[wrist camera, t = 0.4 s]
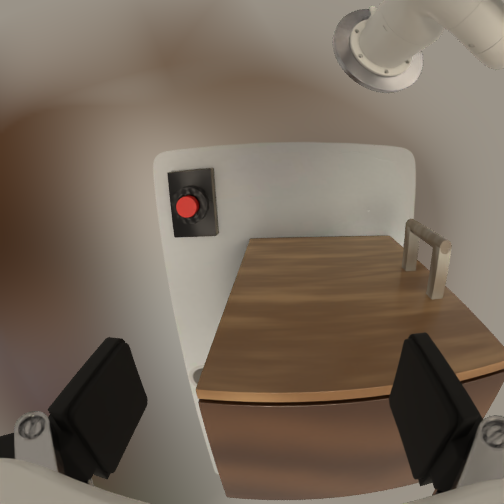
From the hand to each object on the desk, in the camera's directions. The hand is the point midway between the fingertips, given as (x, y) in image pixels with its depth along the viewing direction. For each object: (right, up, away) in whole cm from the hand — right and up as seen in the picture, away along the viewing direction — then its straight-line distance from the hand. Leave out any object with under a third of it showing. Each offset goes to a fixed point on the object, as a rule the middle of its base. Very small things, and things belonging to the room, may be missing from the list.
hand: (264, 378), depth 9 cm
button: (-11, +12, +42) cm, 45 cm away
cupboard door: (+12, +10, +44) cm, 46 cm away
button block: (-11, +13, +45) cm, 48 cm away
